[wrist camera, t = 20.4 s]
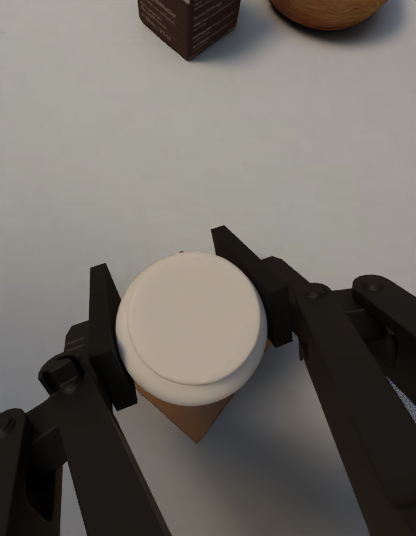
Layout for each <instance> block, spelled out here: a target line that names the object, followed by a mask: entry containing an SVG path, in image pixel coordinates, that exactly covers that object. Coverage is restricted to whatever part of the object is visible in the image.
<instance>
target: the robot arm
mask: <svg viewBox="0 0 416 536" xmlns="http://www.w3.org/2000/svg"><path fill="white" fill-rule="evenodd" d="M211 233H212V237H213V242H214V247H215V252H216V255H217V256H219V257H222V258H224V259H226V260H228V261H229V262H231V263H232V264H234V265H235V266H236V267H237V268H239V269H240V270H241V271H242V272H243V273H244V274H245V275H246V276H247V277H248V278H249V280H250V281H251V282H252V284H253V285H254V286H255V288H256V290H257V291H258V293H259V295H260V297H261V299H262V302H263V305H264V308H265V312H266V317H267V337H268V339H269V340H270V341H271V343H272V344H273V345H274V347H275V348H277V347H279V346H282V345H284V344H287V343H289V342H292V341H293V340H292V331H293V332H294V333H295V335H296V336H297V337H298V342H299V356H300V361H301V360H303V359H304V361H305V364H306V367H307V369H308V372H309V375H310V377H311V380H312V383H313V385H314V388H315V391H316V393H317V396H318V398H319V401H320V404H321V406H322V409H323V412H324V414H325V417H326V420H327V422H328V425H329V428H330V430H331V433H332V435H333V438H334V441H335V443H336V446H337V449H338V451H339V454H340V457H341V459H342V462H343V465H344V467H345V470H346V472H347V475H348V478H349V480H350V483H351V486H352V488H353V491H354V494H355V496H356V499H357V502H358V504H359V507H360V509H361V512H362V515H363V517H364V520H365V523H366V525H367V528H368V531H369V533H370V536H416V423H415V421H414V420H413V418H412V417H411V415H410V414H409V412H408V410H407V409H406V407H405V406H404V404H403V402H402V401H401V399H400V398H399V396H398V395H397V393H396V391H395V390H394V388H393V387H392V385H391V384H390V382H389V380H388V379H387V377H388V378H389V379H390V380H391V381H392V382H393V383H394V384H395V385H396V386H397V387H398V388H399V389H400V390H401V391H402V392H403V393H404V394H405V395H406V396H407V397H408V398H409V399H410V400H411V401H412V402H413V403H414V404H415V405H416V297H415V296H413V295H412V294H410V293H409V292H407V291H406V290H404V289H403V288H401V287H399V286H398V285H396V284H395V283H393V282H392V281H390V280H389V279H387V278H384V277H382V276H378V275H363V276H359V277H358V278H356V279H355V280H354V281H353V285H352V288H351V289H344V290H334V291H332V290H331V289H330V288H329V287H328V286H325V285H323V284H319V283H310V282H308V281H307V280H306V279H305V278H304V277H302V276H301V275H300V274H299V273H298V272H296V271H295V270H293V268H292V267H290V266H288V264H287V263H286V262H284V261H283V260H282V259H279V258H276V257H273V256H271V257H268V258H265V259H262V260H261V259H260V258H258V257H257V256H256V255H255V254H254V253H253V252H252V251H251V250H250V249H249V248H248V247H247V246H246V245H245V244H244V243H243V242H241V241H240V240H239V239H238V238H237V237H236V236H235V235H234V234H233V233H232V232H231V231H230V230H229V229H228V228H227V227H226V226H225V225H223V226H220V227H217V228H214V229H211ZM120 303H121V298H120V296H119V294H118V291H117V289H116V286H115V284H114V282H113V279H112V277H111V275H110V272H109V270H108V267H107V265H106V263H104V264H101V265H97V266H94V267H91V268H90V299H89V320H88V321H85V322H82V323H79V324H76V325H73V326H72V327H71V328H70V330H69V331H68V333H67V335H66V340H65V348H64V352H63V353H61V354H58V355H56V356H54V357H53V358H51V359H50V360H48V361H47V362H46V363H45V364H44V365H43V366H42V368H41V370H40V372H39V375H38V379H39V381H40V382H41V384H42V385H43V387H44V388H45V389H46V391H47V392H48V394H49V395H50V397H49V398H48V399H47V400H46V401H44V402H43V403H41V404H40V405H38V406H37V407H35V408H34V409H32V410H30V411H29V412H27V413H25V412H24V411H23V410H22V409H18V408H13V409H9V410H6V411H4V412H2V413H0V536H60V517H61V495H62V472H63V464H64V463H65V462H67V461H68V465H69V469H70V473H71V476H72V480H73V484H74V488H75V491H76V495H77V499H78V503H79V506H80V510H81V514H82V518H83V521H84V525H85V529H86V533H87V536H172V535H171V533H170V531H169V529H168V527H167V525H166V523H165V520H164V518H163V516H162V514H161V512H160V510H159V508H158V506H157V504H156V501H155V499H154V497H153V495H152V493H151V491H150V489H149V487H148V485H147V482H146V480H145V478H144V476H143V474H142V472H141V470H140V468H139V466H138V463H137V461H136V459H135V457H134V455H133V453H132V451H131V449H130V447H129V444H128V442H127V440H126V438H125V436H124V434H123V432H122V430H121V428H120V425H119V423H118V421H117V419H116V418H115V416H114V414H113V406H112V403H113V405H114V407H115V409H116V410H117V411H119V410H122V409H124V408H127V407H129V406H132V405H134V404H137V396H136V389H135V382H134V380H133V378H132V377H131V376H130V374H129V373H128V371H127V370H126V368H125V366H124V364H123V362H122V360H121V357H120V355H119V351H118V347H117V342H116V317H117V313H118V309H119V306H120ZM385 375H386V376H387V377H386V376H385Z"/></svg>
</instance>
